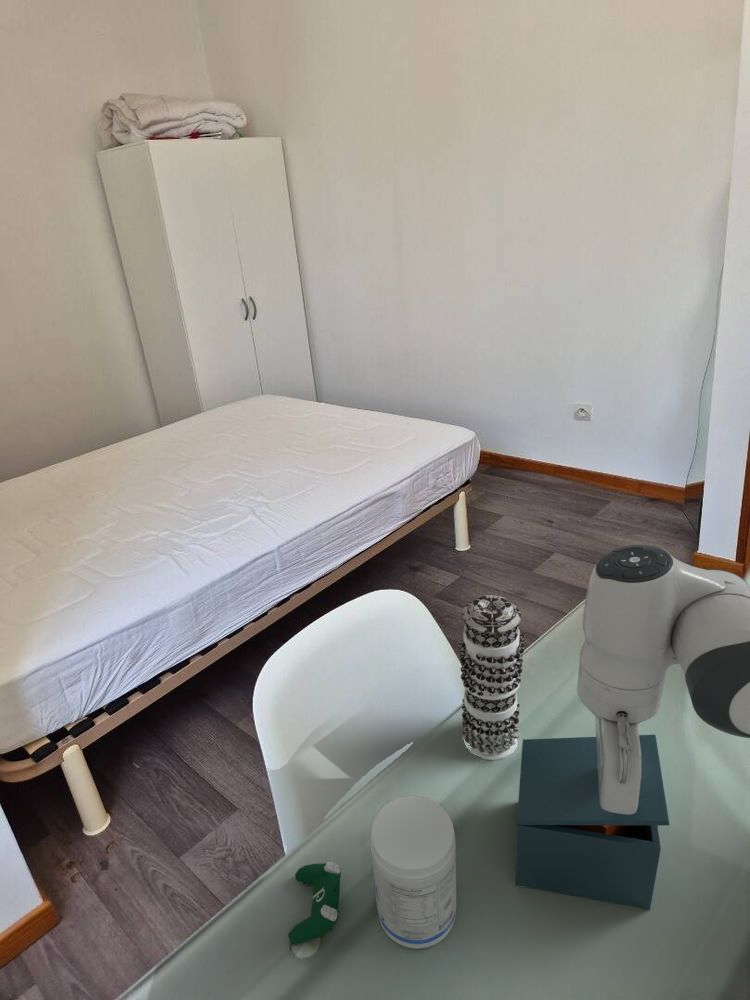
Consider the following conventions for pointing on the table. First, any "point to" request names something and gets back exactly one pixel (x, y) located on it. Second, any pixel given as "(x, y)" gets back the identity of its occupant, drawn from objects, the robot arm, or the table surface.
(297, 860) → the table surface
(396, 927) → the supplement tub
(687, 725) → the table surface
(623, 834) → the block
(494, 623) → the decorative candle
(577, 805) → the lid
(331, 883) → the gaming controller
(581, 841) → the dark teal open box
